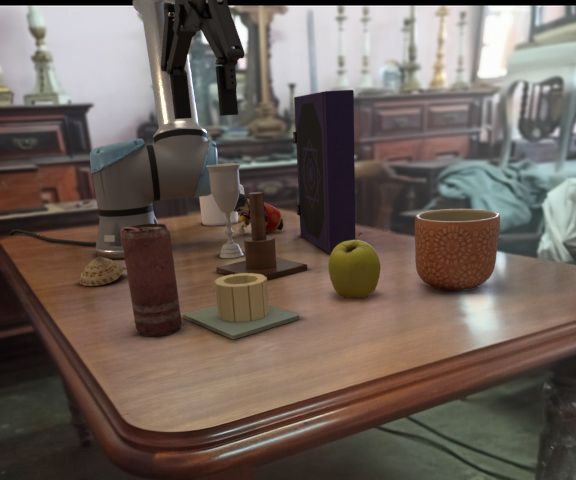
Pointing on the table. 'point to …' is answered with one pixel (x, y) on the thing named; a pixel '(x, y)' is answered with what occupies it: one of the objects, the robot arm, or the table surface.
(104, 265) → the seashell
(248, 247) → the stand
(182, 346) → the table surface
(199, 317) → the mat
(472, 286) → the planter
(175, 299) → the can
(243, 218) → the figurine
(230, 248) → the chalice
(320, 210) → the book
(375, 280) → the apple
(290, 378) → the table surface
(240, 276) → the tape roll
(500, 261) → the table surface
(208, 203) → the mug
